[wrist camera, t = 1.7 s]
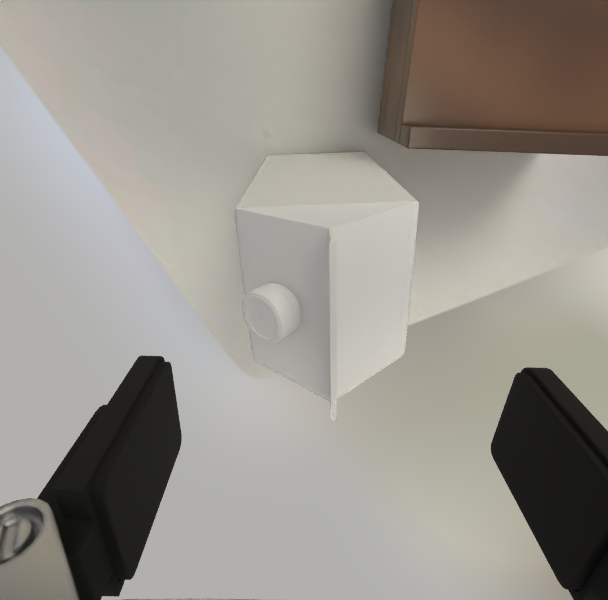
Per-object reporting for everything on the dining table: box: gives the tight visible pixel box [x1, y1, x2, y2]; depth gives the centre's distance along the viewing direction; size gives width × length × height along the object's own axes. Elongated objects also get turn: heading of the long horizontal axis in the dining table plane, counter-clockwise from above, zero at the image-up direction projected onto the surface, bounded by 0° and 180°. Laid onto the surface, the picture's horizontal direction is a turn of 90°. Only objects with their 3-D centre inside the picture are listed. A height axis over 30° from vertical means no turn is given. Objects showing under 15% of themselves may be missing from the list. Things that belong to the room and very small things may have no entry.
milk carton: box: [235, 151, 419, 421], centre depth 21 cm, size 7×7×19 cm
